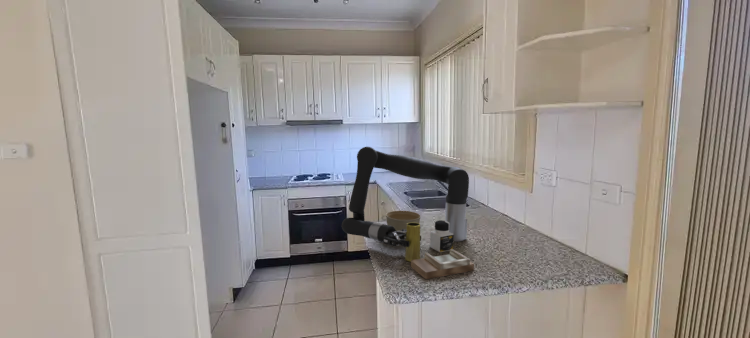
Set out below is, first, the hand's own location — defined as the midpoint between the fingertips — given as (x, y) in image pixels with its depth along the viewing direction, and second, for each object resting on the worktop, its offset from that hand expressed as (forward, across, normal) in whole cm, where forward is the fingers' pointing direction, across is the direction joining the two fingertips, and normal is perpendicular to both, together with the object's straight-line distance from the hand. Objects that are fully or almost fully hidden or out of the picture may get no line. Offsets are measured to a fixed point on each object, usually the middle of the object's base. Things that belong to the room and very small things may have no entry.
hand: (415, 241), depth 131 cm
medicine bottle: (+2, +18, +8) cm, 19 cm away
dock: (+12, -1, +8) cm, 14 cm away
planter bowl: (-19, +19, +8) cm, 28 cm away
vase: (-1, 0, +8) cm, 8 cm away
